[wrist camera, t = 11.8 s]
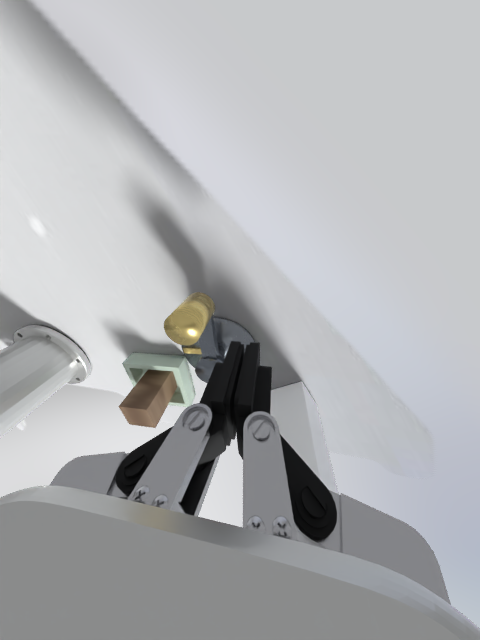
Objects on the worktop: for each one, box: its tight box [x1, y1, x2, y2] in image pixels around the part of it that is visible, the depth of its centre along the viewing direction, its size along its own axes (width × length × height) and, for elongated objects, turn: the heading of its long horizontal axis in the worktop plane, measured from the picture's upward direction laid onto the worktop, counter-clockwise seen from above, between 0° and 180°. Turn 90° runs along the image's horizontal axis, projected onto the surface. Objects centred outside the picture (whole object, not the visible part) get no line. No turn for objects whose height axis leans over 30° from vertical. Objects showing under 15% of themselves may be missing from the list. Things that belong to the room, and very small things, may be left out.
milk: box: [270, 381, 338, 494], centre depth 20 cm, size 6×6×22 cm
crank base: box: [182, 317, 255, 368], centre depth 25 cm, size 11×11×3 cm
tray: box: [122, 353, 196, 407], centre depth 30 cm, size 9×9×2 cm
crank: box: [164, 292, 225, 383], centre depth 19 cm, size 12×4×6 cm, turn 3°
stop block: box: [119, 369, 178, 428], centre depth 27 cm, size 4×4×7 cm
